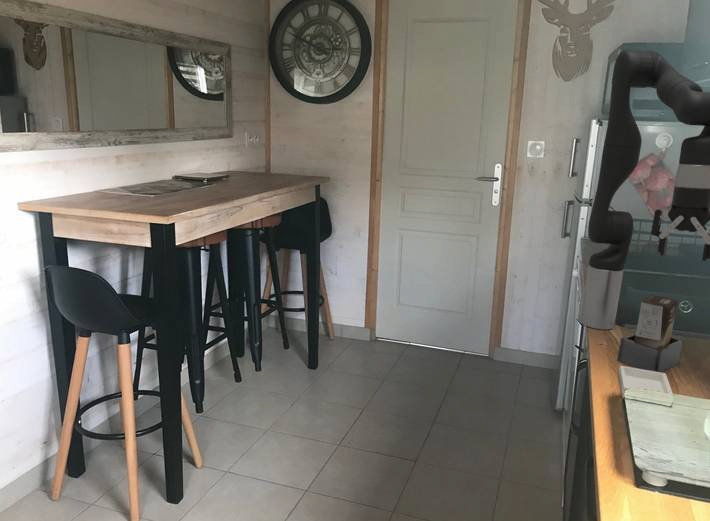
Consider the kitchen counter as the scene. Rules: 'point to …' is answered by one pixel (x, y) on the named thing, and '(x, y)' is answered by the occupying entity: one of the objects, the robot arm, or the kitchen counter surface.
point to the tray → (643, 380)
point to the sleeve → (649, 354)
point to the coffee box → (656, 321)
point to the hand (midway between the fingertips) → (683, 257)
